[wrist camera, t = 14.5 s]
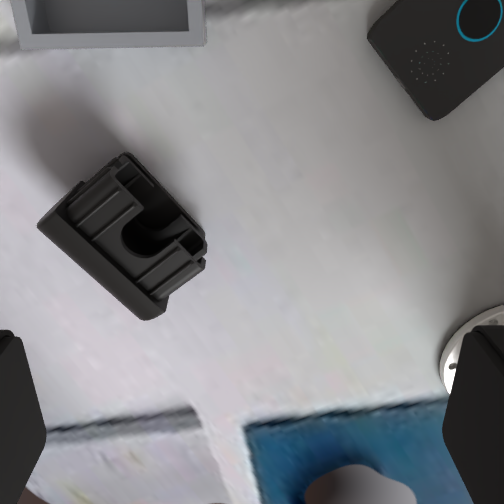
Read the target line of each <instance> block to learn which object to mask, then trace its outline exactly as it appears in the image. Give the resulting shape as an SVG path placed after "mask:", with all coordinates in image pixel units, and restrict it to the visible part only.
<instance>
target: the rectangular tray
mask: <svg viewBox="0 0 504 504" xmlns="http://www.w3.org/2000/svg"><path fill="white" fill-rule="evenodd" d="M10 3H11V7H12V12H13V16H14V21H15V25H16V30H17V34H18V38H19V43H20V47H21V50H34V49H87V48H140V47H193V46H205V45H206V43H207V34H206V15H205V0H10Z"/></svg>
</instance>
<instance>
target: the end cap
mask: <svg viewBox="0 0 504 504" xmlns="http://www.w3.org/2000/svg"><path fill="white" fill-rule="evenodd" d="M37 228H38V229H39V230H40V231H41V232H42V233H43V234H44V235H45V236H46V237H48V238H49V239H50V240H51V241H52V242H53V243H54V244H55V245H57V246H58V247H59V248H60V249H61V250H62V251H63V252H64V253H66V254H67V255H68V256H69V257H70V258H71V259H72V260H74V261H75V262H76V263H77V264H78V265H79V266H80V267H81V268H83V269H84V270H85V271H86V272H87V273H88V274H89V275H90V276H92V277H93V278H94V279H95V280H96V281H97V282H98V283H99V284H101V285H102V286H103V287H104V288H105V289H106V290H107V291H108V292H110V293H111V294H112V295H113V296H114V297H115V298H116V299H118V300H119V301H120V302H121V303H122V304H123V305H124V306H125V307H127V308H128V309H129V310H130V311H131V312H132V313H133V314H134V315H136V316H137V317H138V318H139V319H141V320H144V321H145V320H151V319H154V318H156V317H158V316H160V315H161V314H163V313H164V312H165V311H166V308H167V303H168V299H169V295H170V294H171V293H173V292H174V291H175V290H177V289H178V288H180V287H181V286H182V285H184V284H185V283H186V282H188V281H189V280H190V279H192V278H193V277H194V276H196V275H197V274H199V273H200V272H201V271H203V270H204V269H205V263H206V260H205V259H204V258H203V257H202V256H204V255H205V254H206V253H207V242H206V240H205V232H204V231H203V229H202V228H201V227H200V226H199V225H198V224H197V223H196V222H195V221H194V220H193V219H192V218H191V217H190V216H189V215H188V213H187V212H186V211H185V210H184V209H183V208H182V207H181V206H180V205H179V204H178V203H177V202H176V201H175V200H174V199H173V197H172V196H171V195H170V194H169V193H168V192H167V191H166V190H165V189H164V188H163V187H162V186H161V185H160V184H159V183H158V181H157V180H156V179H155V178H154V177H153V176H152V175H151V174H150V173H149V172H148V171H147V170H146V169H145V168H144V167H143V165H142V164H141V163H140V162H139V161H138V160H137V159H136V158H135V157H134V156H133V155H132V154H130V153H126V152H125V153H123V154H121V155H120V156H119V157H116V158H114V159H113V160H112V161H111V162H109V163H108V164H107V165H106V166H105V167H104V168H103V169H101V170H100V171H99V172H98V173H97V174H96V175H95V176H93V177H92V178H91V179H90V180H89V181H88V182H87V183H85V182H83V181H81V182H79V183H78V184H77V185H76V186H75V187H74V188H73V189H72V190H70V191H69V192H68V193H67V194H66V195H65V196H64V197H63V198H62V199H61V200H60V201H59V202H58V203H56V204H55V205H54V206H53V207H52V208H51V209H50V210H49V211H48V212H47V213H46V214H45V215H44V216H43V217H42V218H41V219H40V221H39V222H38V223H37Z"/></svg>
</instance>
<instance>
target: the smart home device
mask: <svg viewBox="0 0 504 504" xmlns="http://www.w3.org/2000/svg"><path fill="white" fill-rule="evenodd" d="M367 40H368V41H369V43H370V44H371V45H372V46H373V48H374V49H375V50H376V52H377V53H378V54H379V56H380V57H381V58H382V60H383V61H384V62H385V64H386V65H387V66H388V68H389V69H390V70H391V72H392V73H393V74H394V76H395V77H396V79H397V80H398V81H399V83H400V84H401V85H402V87H403V88H404V89H405V90H406V92H407V93H408V94H409V95H410V97H411V98H412V99H413V101H414V102H415V103H416V105H417V106H418V107H419V109H420V110H421V111H422V113H423V114H424V115H425V117H427V118H429V119H431V120H433V121H435V120H439V119H441V118H443V117H444V116H446V115H447V114H449V113H450V112H451V111H452V110H454V109H455V108H456V107H457V106H458V105H459V104H461V103H462V102H463V101H464V100H465V99H467V98H468V97H469V96H470V95H471V94H472V93H474V92H475V91H476V90H477V89H478V88H480V87H481V86H482V85H483V84H484V83H485V82H487V81H488V80H489V79H490V78H491V77H493V76H494V75H495V74H496V73H497V72H498V71H500V70H501V69H502V68H503V67H504V0H398V1H397V2H396V3H395V4H394V5H393V6H392V7H391V8H390V9H389V10H388V11H387V12H386V13H385V14H384V15H382V16H381V17H380V18H379V19H378V20H377V21H376V22H375V24H374V25H373V26H372V27H371V29H370V31H369V33H368V35H367Z"/></svg>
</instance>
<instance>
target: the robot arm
mask: <svg viewBox="0 0 504 504" xmlns="http://www.w3.org/2000/svg"><path fill="white" fill-rule="evenodd" d="M440 377H441V381H442V383H443V385H444V387H445V389H446V391H447V392H448V394H449V395H450V396H449V400H448V404H447V409H446V413H445V417H444V421H443V427H442V433H443V439H444V442H445V445H446V447H447V449H448V451H449V453H450V455H451V457H452V459H453V461H454V463H455V465H456V467H457V470H458V472H459V474H460V476H461V478H462V480H463V482H464V484H465V486H466V488H467V490H468V492H469V494H470V497H471V499H472V501H473V503H474V504H504V305H501V306H498V307H495V308H492V309H489V310H487V311H485V312H483V313H481V314H479V315H477V316H476V317H474V318H473V319H471V320H470V321H468V322H467V323H466V324H464V325H463V326H462V327H461V328H460V329H459V330H458V331H457V332H456V333H455V334H454V335H453V337H452V338H451V339H450V341H449V342H448V343H447V345H446V347H445V349H444V351H443V353H442V357H441V360H440ZM45 442H46V428H45V424H44V420H43V417H42V413H41V409H40V405H39V402H38V398H37V394H36V390H35V387H34V383H33V379H32V376H31V372H30V368H29V364H28V361H27V357H26V353H25V349H24V346H23V342H22V340H21V339H20V337H15V336H14V334H13V333H12V332H11V331H10V330H0V504H17V502H18V500H19V498H20V496H21V494H22V491H23V490H24V488H25V486H26V484H27V481H28V479H29V477H30V475H31V473H32V471H33V469H34V467H35V465H36V463H37V461H38V459H39V457H40V455H41V453H42V451H43V449H44V446H45Z"/></svg>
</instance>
